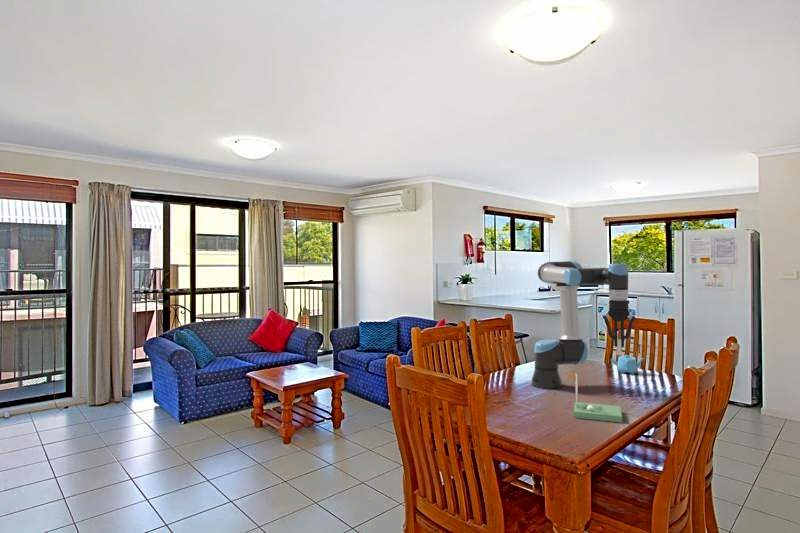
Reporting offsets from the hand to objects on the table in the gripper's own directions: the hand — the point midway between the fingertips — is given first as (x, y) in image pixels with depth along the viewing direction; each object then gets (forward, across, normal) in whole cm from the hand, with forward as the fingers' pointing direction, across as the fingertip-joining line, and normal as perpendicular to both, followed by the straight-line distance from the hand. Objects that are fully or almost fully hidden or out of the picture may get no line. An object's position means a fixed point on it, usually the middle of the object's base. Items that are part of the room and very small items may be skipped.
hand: (619, 354), depth 198 cm
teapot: (+25, +8, +78) cm, 82 cm away
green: (+24, -10, -8) cm, 28 cm away
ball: (+22, -11, -8) cm, 26 cm away
